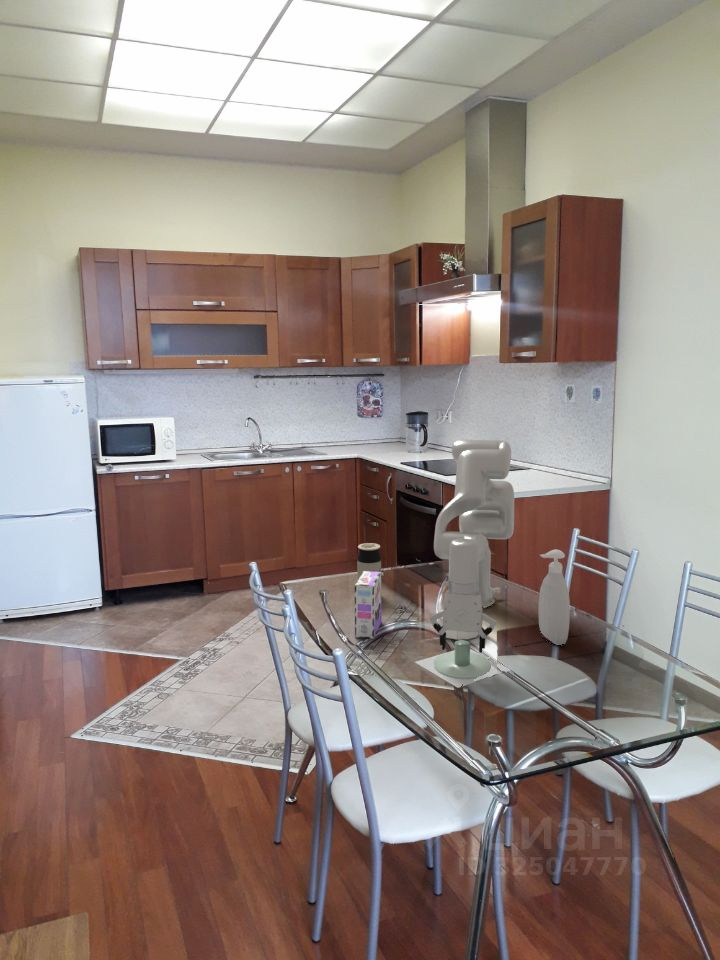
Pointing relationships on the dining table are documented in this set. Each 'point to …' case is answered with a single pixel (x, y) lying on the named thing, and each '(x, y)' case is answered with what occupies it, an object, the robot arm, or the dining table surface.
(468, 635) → the bowl
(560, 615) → the soap bottle
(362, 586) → the candy box
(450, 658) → the lid
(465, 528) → the robot arm
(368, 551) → the travel mug
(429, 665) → the mat
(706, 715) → the dining table surface
